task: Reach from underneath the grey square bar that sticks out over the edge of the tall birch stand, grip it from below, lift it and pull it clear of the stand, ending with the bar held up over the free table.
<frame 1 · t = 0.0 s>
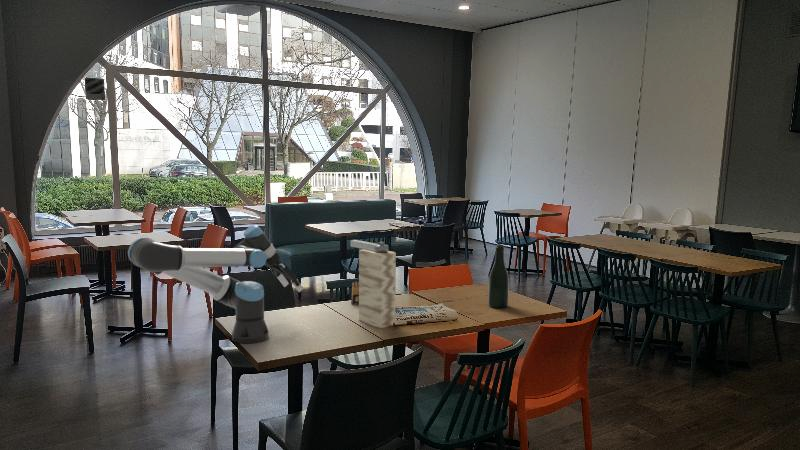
hand: (293, 287, 264), 15 cm above the table, tool tilted 35°, fingers open, 13 cm apart
ammunition clip: (360, 303, 297), on the table
beer bottle: (498, 306, 292), on the table
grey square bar: (365, 248, 264), point 34 cm above the table, touching stand
stand: (376, 322, 261), on the table
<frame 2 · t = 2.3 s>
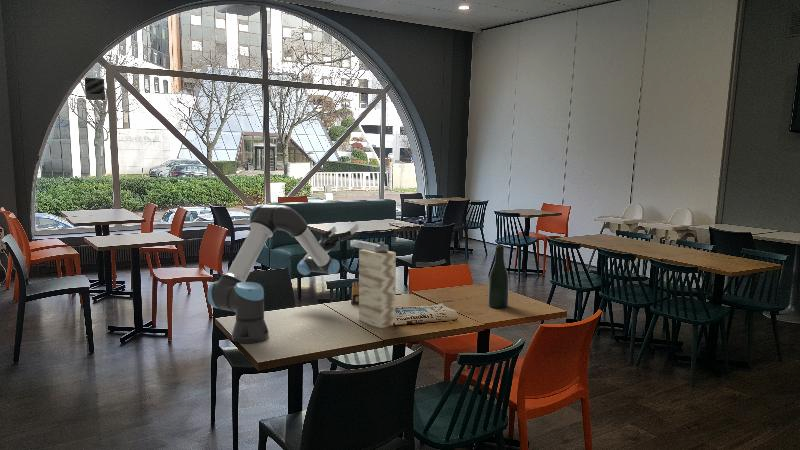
hand: (346, 227, 274), 43 cm above the table, tool pointing upward, fingers open, 13 cm apart
nothing on the table moved.
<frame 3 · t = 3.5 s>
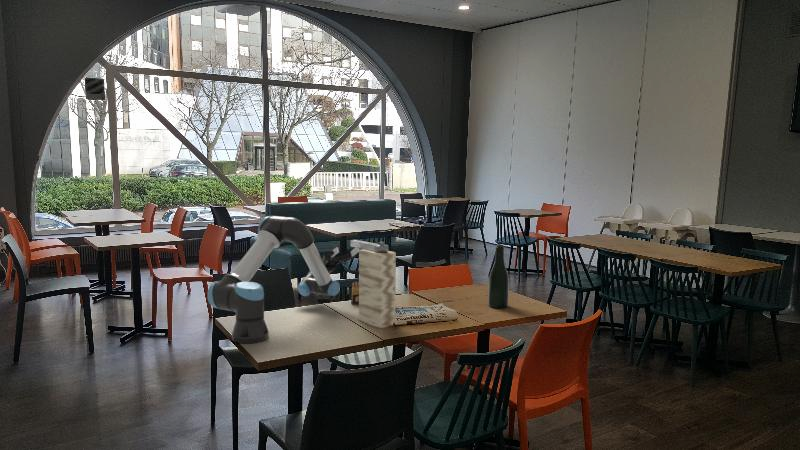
hand: (348, 249, 276), 32 cm above the table, tool pointing upward, fingers open, 12 cm apart
nothing on the table moved.
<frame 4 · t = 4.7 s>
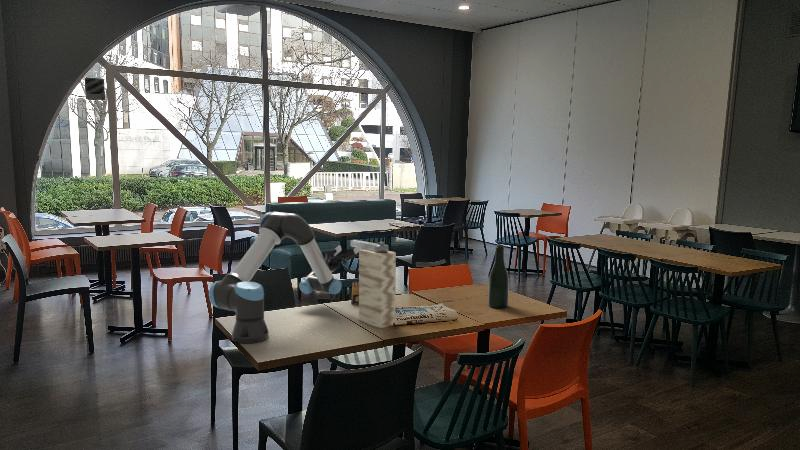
hand: (351, 246, 273), 33 cm above the table, tool pointing upward, fingers open, 12 cm apart
nothing on the table moved.
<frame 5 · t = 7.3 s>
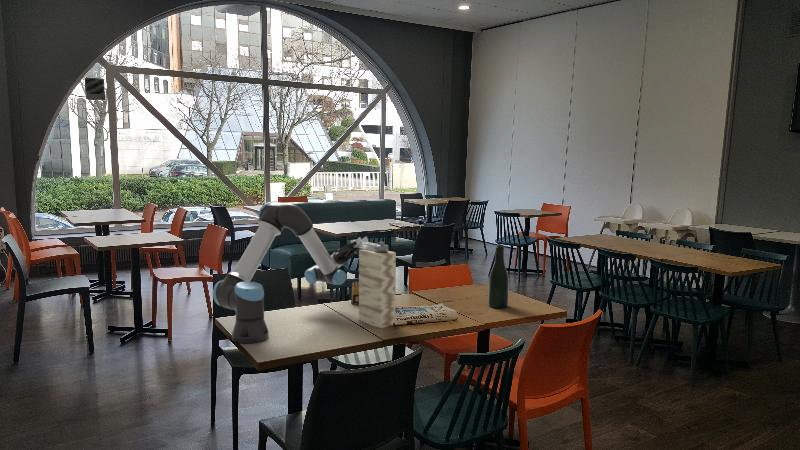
hand: (363, 239, 264), 38 cm above the table, tool pointing upward, fingers closed on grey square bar, 3 cm apart
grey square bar: (365, 248, 264), point 34 cm above the table, touching gripper, stand
everything else where it was.
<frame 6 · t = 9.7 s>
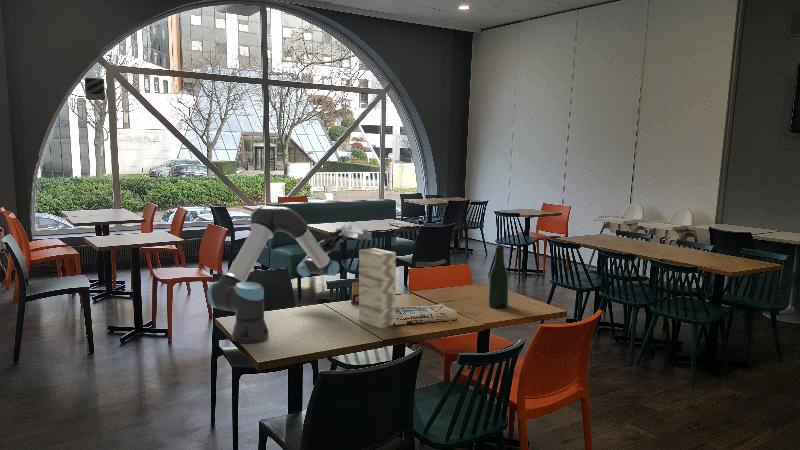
hand: (348, 227, 273), 43 cm above the table, tool pointing upward, fingers closed on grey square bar, 3 cm apart
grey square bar: (349, 236, 273), point 39 cm above the table, touching gripper
everything else where it was.
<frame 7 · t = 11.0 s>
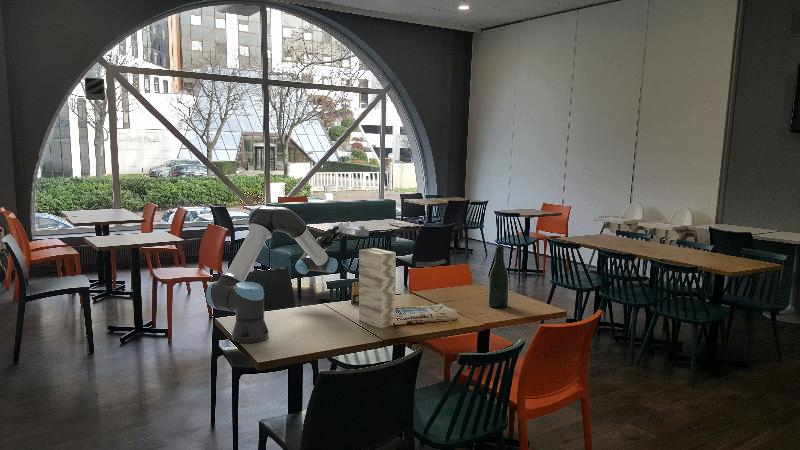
hand: (345, 224, 275), 44 cm above the table, tool pointing upward, fingers closed on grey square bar, 3 cm apart
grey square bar: (347, 233, 274), point 40 cm above the table, touching gripper
everything else where it was.
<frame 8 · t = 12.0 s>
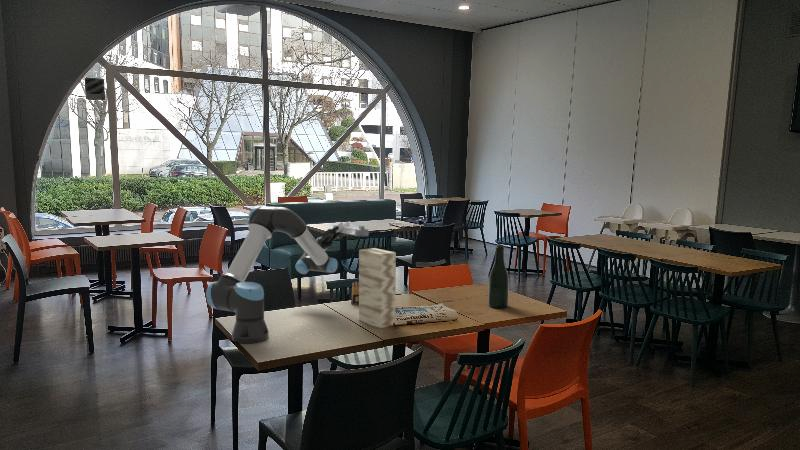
hand: (345, 224, 275), 44 cm above the table, tool pointing upward, fingers closed on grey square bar, 3 cm apart
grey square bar: (347, 233, 274), point 40 cm above the table, touching gripper
everything else where it was.
at the end: the gripper is holding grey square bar; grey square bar touching gripper; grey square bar inside the target area (1.0 cm from its centre), point 39.9 cm above the table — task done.
